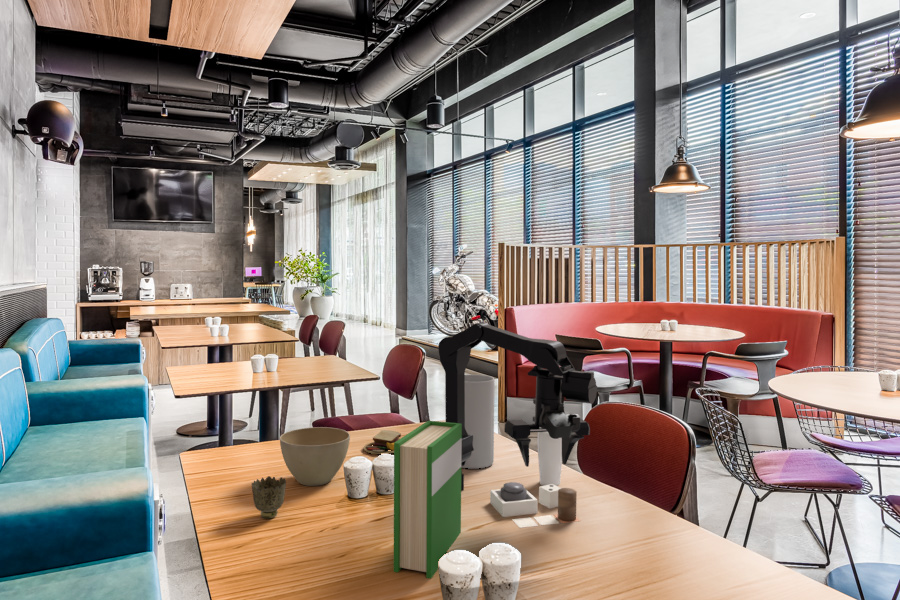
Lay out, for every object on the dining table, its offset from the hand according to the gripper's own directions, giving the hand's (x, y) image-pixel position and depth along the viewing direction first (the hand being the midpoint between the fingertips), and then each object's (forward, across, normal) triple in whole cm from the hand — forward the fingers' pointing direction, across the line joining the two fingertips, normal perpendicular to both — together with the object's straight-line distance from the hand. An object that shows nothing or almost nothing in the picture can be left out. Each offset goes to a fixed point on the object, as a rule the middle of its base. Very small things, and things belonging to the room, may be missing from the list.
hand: (545, 464), depth 131 cm
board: (+12, -1, 0) cm, 12 cm away
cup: (+14, -60, +15) cm, 64 cm away
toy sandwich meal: (+14, -28, +60) cm, 67 cm away
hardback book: (+12, -29, -11) cm, 34 cm away
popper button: (+11, -6, +4) cm, 13 cm away
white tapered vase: (+12, +10, +17) cm, 23 cm away
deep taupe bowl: (+14, -49, +36) cm, 63 cm away
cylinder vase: (+13, -4, +40) cm, 42 cm away
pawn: (+11, +4, -4) cm, 12 cm away
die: (+11, +4, +4) cm, 12 cm away
